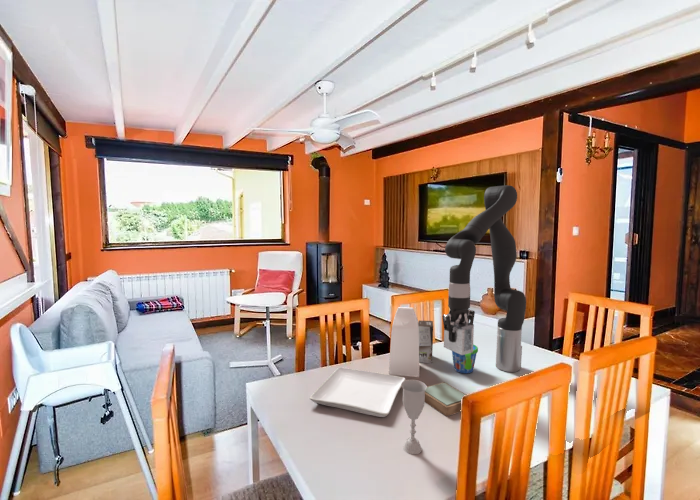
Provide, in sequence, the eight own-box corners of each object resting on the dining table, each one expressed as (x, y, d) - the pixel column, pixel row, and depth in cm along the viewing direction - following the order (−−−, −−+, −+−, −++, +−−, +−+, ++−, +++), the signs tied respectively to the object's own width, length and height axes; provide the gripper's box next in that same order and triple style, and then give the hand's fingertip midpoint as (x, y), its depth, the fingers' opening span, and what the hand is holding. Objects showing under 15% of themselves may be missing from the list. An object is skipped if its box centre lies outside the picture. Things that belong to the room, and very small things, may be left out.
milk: (419, 365, 160) (420, 305, 157) (419, 377, 149) (420, 312, 146) (390, 363, 162) (391, 303, 159) (388, 374, 151) (389, 310, 148)
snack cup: (448, 361, 164) (449, 339, 163) (474, 363, 162) (475, 340, 161) (451, 377, 149) (452, 352, 148) (479, 379, 147) (480, 354, 146)
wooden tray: (443, 389, 138) (444, 381, 138) (473, 407, 126) (473, 397, 126) (418, 397, 132) (418, 388, 132) (446, 416, 120) (446, 406, 120)
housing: (454, 344, 143) (455, 318, 142) (473, 352, 136) (473, 324, 135) (443, 347, 141) (444, 320, 140) (461, 355, 133) (462, 327, 132)
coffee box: (432, 363, 162) (433, 326, 160) (417, 362, 163) (417, 325, 162) (432, 355, 171) (433, 320, 169) (417, 354, 172) (418, 319, 171)
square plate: (308, 408, 126) (308, 397, 125) (338, 375, 151) (338, 365, 151) (387, 424, 116) (387, 412, 116) (406, 386, 142) (406, 376, 142)
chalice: (397, 440, 108) (398, 380, 106) (421, 439, 108) (422, 379, 106) (403, 457, 100) (404, 392, 98) (428, 456, 101) (430, 391, 99)
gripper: (465, 290, 143) (464, 334, 145) (436, 295, 136) (436, 340, 138) (481, 294, 136) (480, 339, 138) (452, 299, 129) (451, 347, 131)
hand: (458, 340), depth 138 cm, fingers closed on housing, 5 cm apart
